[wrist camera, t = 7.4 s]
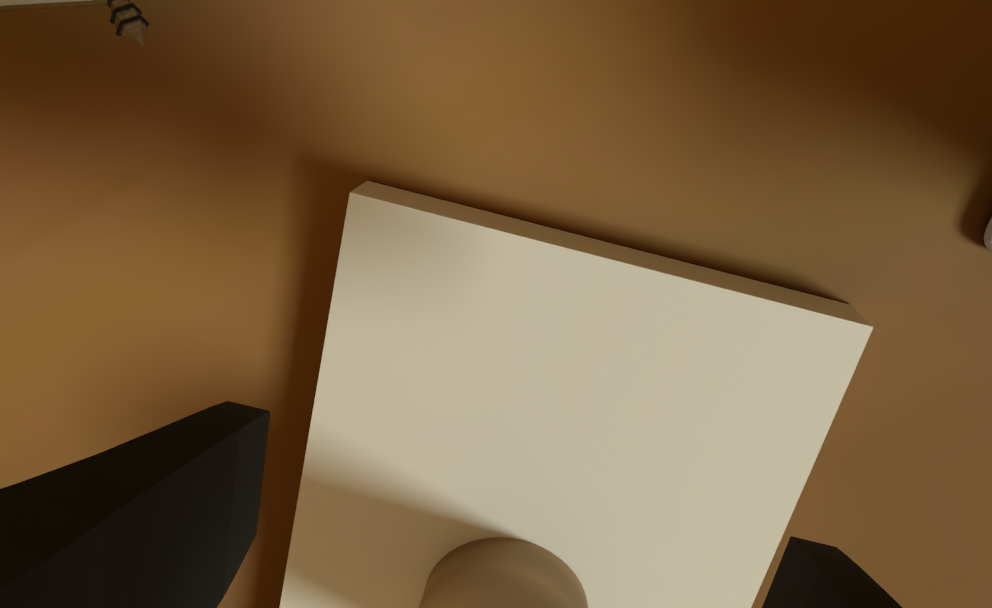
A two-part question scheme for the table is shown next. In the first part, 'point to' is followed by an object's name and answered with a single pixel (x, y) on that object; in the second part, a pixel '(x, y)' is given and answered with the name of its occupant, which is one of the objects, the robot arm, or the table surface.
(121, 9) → the game die
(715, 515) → the ceramic tile
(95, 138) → the table surface
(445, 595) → the oak cylinder
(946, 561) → the table surface
